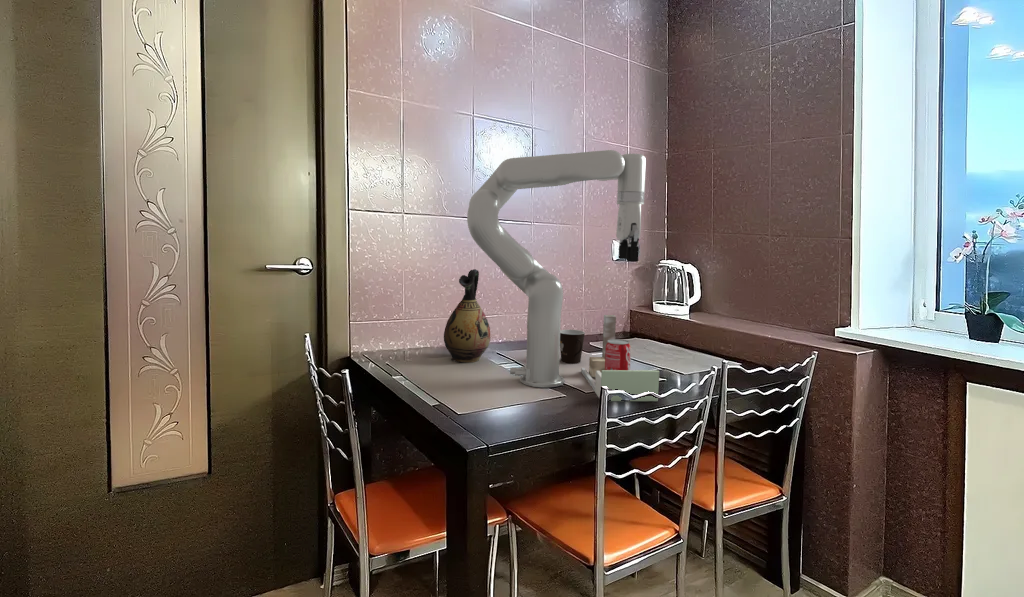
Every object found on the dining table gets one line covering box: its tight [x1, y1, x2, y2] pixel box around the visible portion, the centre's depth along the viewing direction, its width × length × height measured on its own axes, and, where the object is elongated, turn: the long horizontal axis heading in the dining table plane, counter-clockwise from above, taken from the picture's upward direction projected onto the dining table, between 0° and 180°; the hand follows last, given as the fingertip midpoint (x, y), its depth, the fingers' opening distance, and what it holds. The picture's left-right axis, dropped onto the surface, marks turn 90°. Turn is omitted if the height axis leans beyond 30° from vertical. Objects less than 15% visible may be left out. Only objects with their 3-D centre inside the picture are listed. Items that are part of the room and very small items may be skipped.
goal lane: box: [580, 367, 660, 402], centre depth 162 cm, size 15×29×8 cm, turn 3°
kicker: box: [588, 314, 617, 378], centre depth 172 cm, size 11×6×18 cm, turn 93°
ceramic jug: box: [443, 269, 492, 364], centre depth 188 cm, size 17×15×30 cm
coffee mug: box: [560, 329, 586, 365], centre depth 187 cm, size 12×9×10 cm
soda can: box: [605, 338, 632, 370], centre depth 161 cm, size 7×7×13 cm
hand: (628, 260), depth 162 cm, fingers open, 9 cm apart
